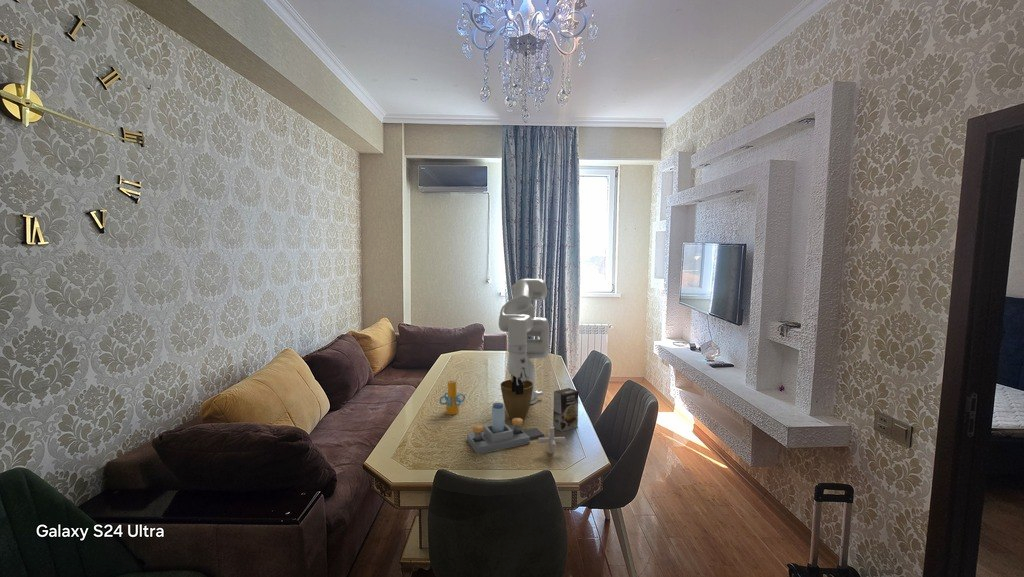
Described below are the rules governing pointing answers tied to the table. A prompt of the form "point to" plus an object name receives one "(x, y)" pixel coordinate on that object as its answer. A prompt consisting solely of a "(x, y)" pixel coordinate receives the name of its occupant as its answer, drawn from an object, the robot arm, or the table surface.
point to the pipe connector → (551, 440)
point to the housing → (497, 439)
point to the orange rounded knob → (478, 431)
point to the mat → (534, 433)
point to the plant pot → (516, 399)
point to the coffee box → (565, 409)
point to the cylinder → (452, 399)
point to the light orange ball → (517, 424)
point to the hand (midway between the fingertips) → (517, 392)
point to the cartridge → (497, 418)
